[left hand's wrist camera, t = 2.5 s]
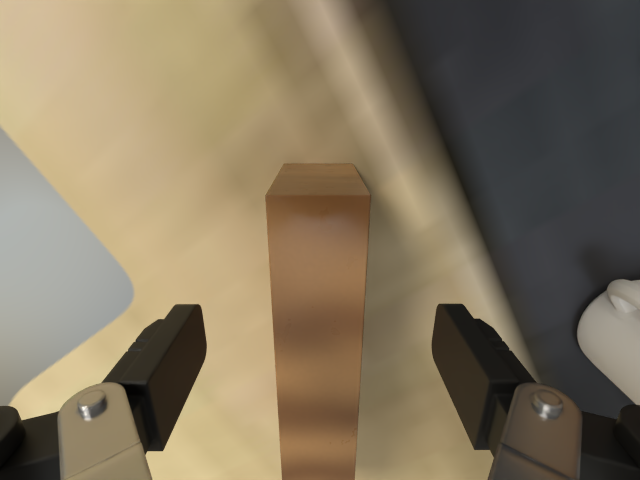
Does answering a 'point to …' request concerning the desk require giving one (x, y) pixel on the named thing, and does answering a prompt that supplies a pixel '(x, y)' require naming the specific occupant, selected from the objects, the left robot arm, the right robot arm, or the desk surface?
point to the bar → (318, 314)
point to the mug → (614, 335)
